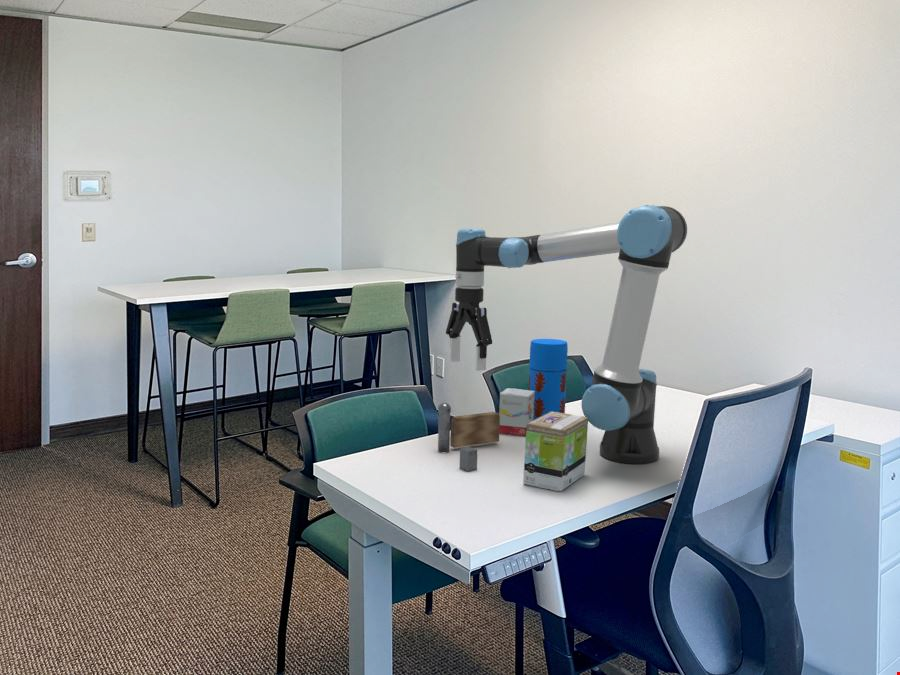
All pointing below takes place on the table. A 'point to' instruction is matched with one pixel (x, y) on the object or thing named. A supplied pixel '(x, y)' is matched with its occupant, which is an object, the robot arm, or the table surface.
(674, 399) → the table surface
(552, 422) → the tea box
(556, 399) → the thermos
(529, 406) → the ink box
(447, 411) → the hinge post
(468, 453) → the block
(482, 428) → the gate
